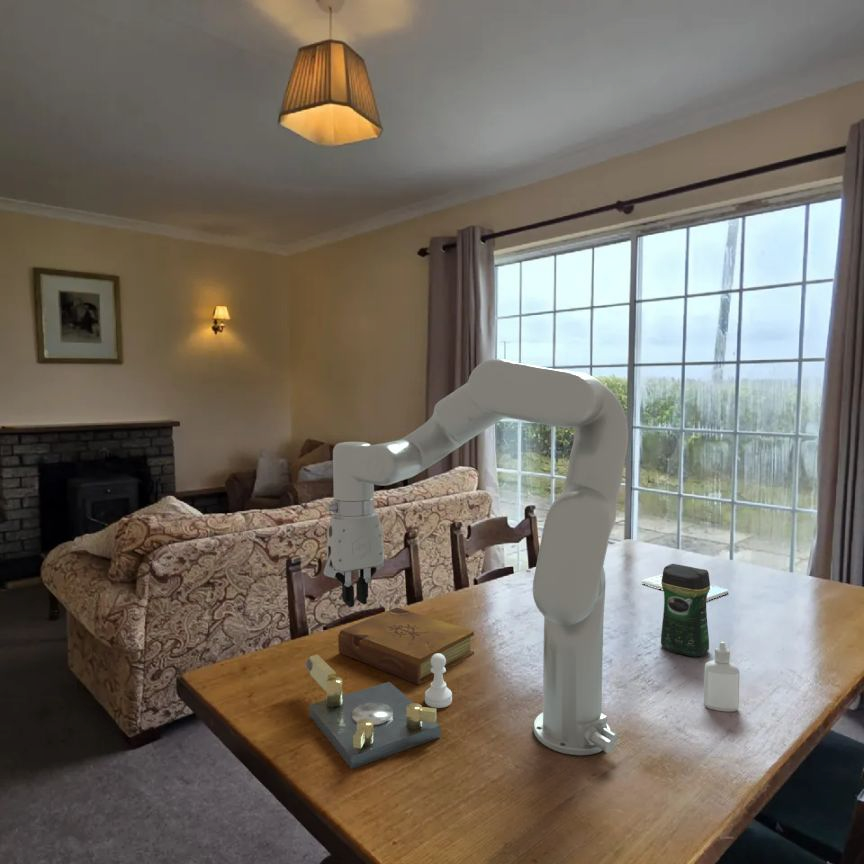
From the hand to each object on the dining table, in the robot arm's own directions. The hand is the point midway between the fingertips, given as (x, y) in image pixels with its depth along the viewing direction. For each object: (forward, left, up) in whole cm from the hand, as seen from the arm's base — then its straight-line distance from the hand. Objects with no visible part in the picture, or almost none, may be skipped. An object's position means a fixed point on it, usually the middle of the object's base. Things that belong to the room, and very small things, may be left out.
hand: (355, 602), depth 116 cm
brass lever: (-1, +7, -15) cm, 17 cm away
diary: (+9, -16, -18) cm, 26 cm away
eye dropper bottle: (-41, -53, -17) cm, 69 cm away
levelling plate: (-13, +3, -17) cm, 22 cm away
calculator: (+4, -105, -18) cm, 107 cm away
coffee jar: (-22, -69, -17) cm, 74 cm away
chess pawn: (-12, -11, -17) cm, 24 cm away
